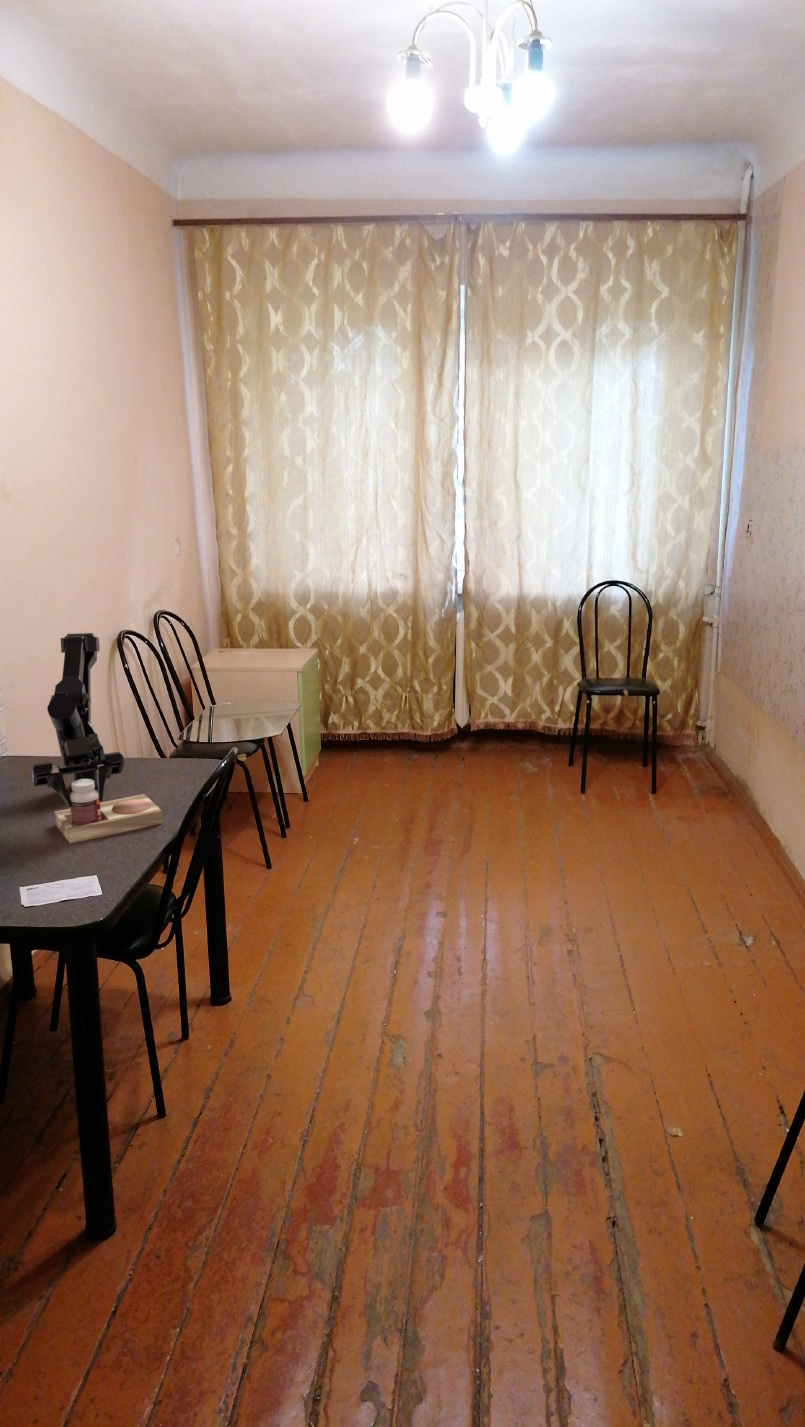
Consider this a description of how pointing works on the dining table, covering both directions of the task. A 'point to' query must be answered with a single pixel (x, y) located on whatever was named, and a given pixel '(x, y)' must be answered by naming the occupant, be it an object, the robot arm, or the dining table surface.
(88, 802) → the pill bottle
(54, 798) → the dining table surface
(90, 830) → the board
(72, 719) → the robot arm
